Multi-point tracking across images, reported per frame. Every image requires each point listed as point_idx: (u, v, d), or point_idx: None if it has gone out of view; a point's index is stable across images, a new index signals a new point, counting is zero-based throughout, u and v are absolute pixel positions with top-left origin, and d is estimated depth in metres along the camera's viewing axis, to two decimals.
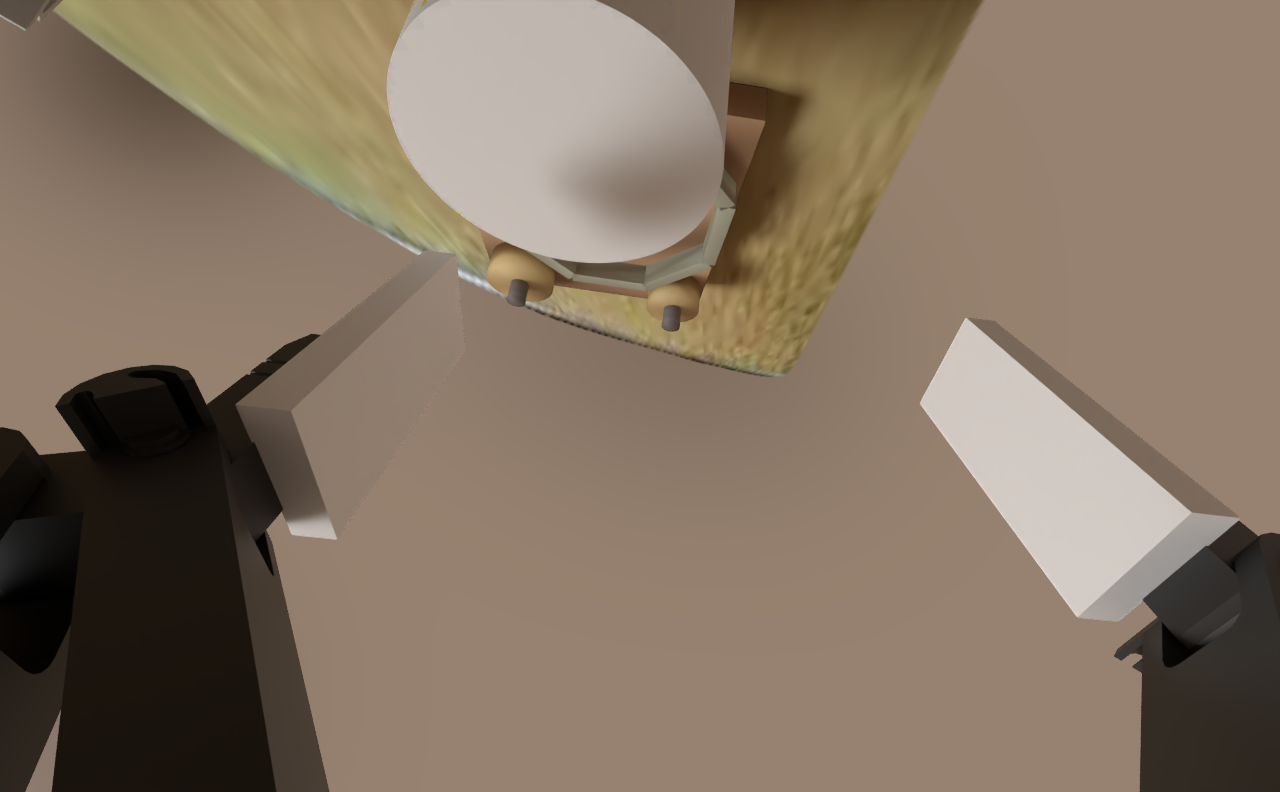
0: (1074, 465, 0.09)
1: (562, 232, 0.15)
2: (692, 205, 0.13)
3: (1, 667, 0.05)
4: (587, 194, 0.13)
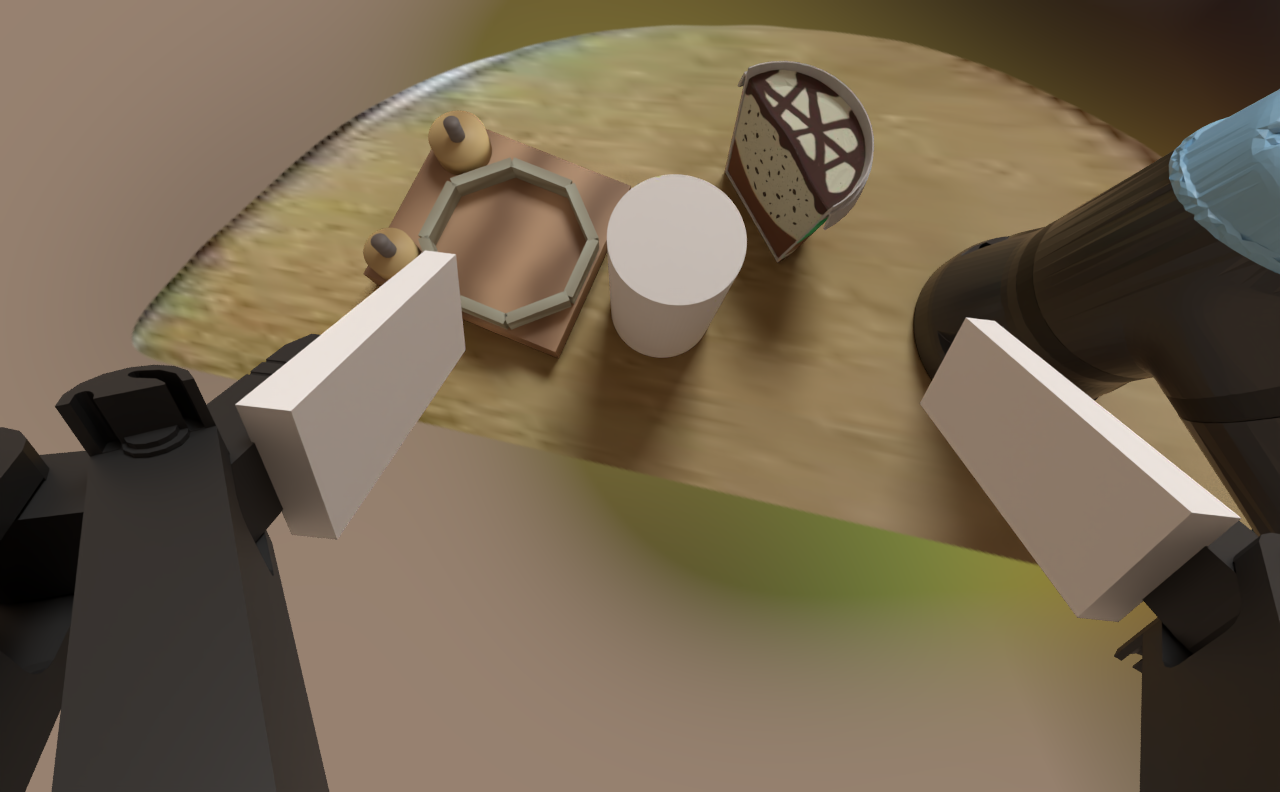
0: (1074, 465, 0.09)
1: (635, 219, 0.29)
2: (643, 286, 0.28)
3: (1, 667, 0.05)
4: (658, 242, 0.28)
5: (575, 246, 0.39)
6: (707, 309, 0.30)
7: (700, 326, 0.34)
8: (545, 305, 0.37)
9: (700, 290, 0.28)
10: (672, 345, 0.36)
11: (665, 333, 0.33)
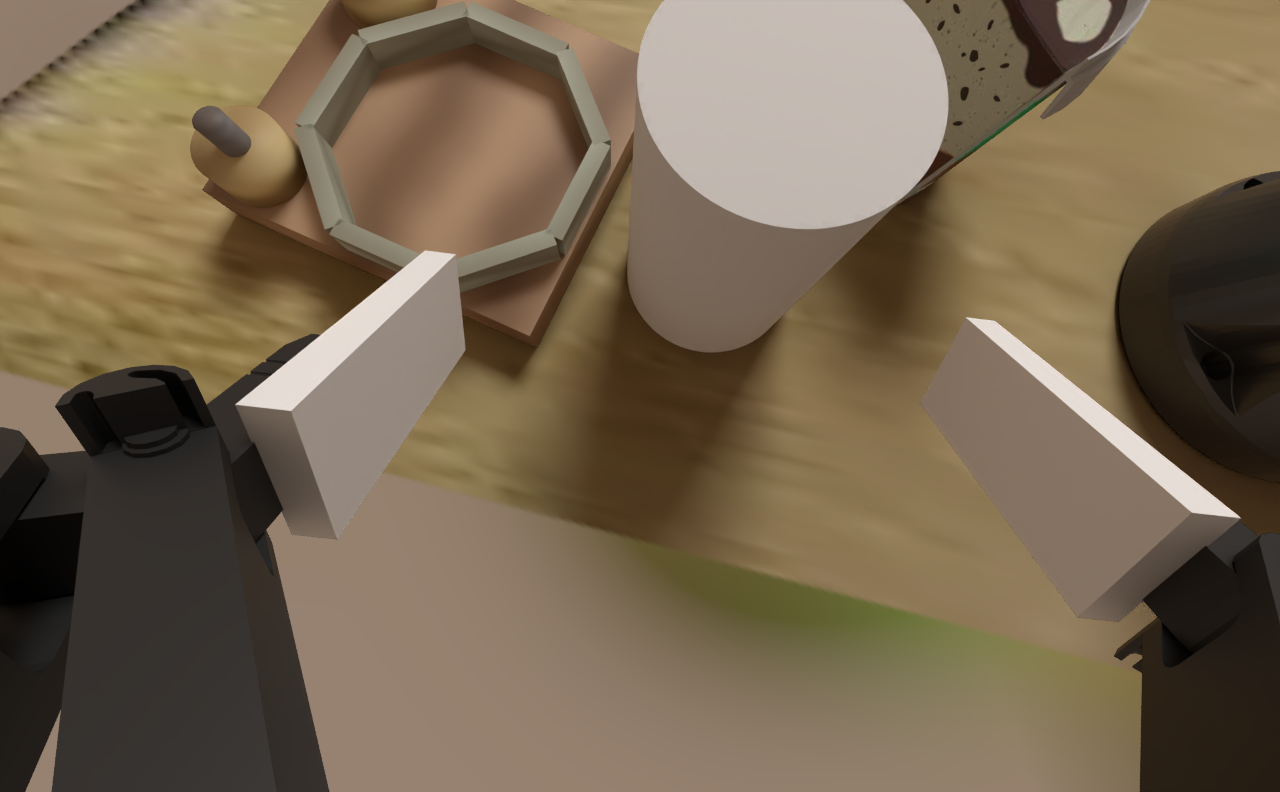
0: (1074, 465, 0.09)
1: (702, 38, 0.13)
2: (718, 182, 0.12)
3: (1, 667, 0.05)
4: (753, 88, 0.13)
5: (571, 159, 0.23)
6: (840, 251, 0.14)
7: (799, 294, 0.18)
8: (513, 252, 0.21)
9: (848, 197, 0.12)
10: (736, 330, 0.20)
11: (735, 305, 0.17)
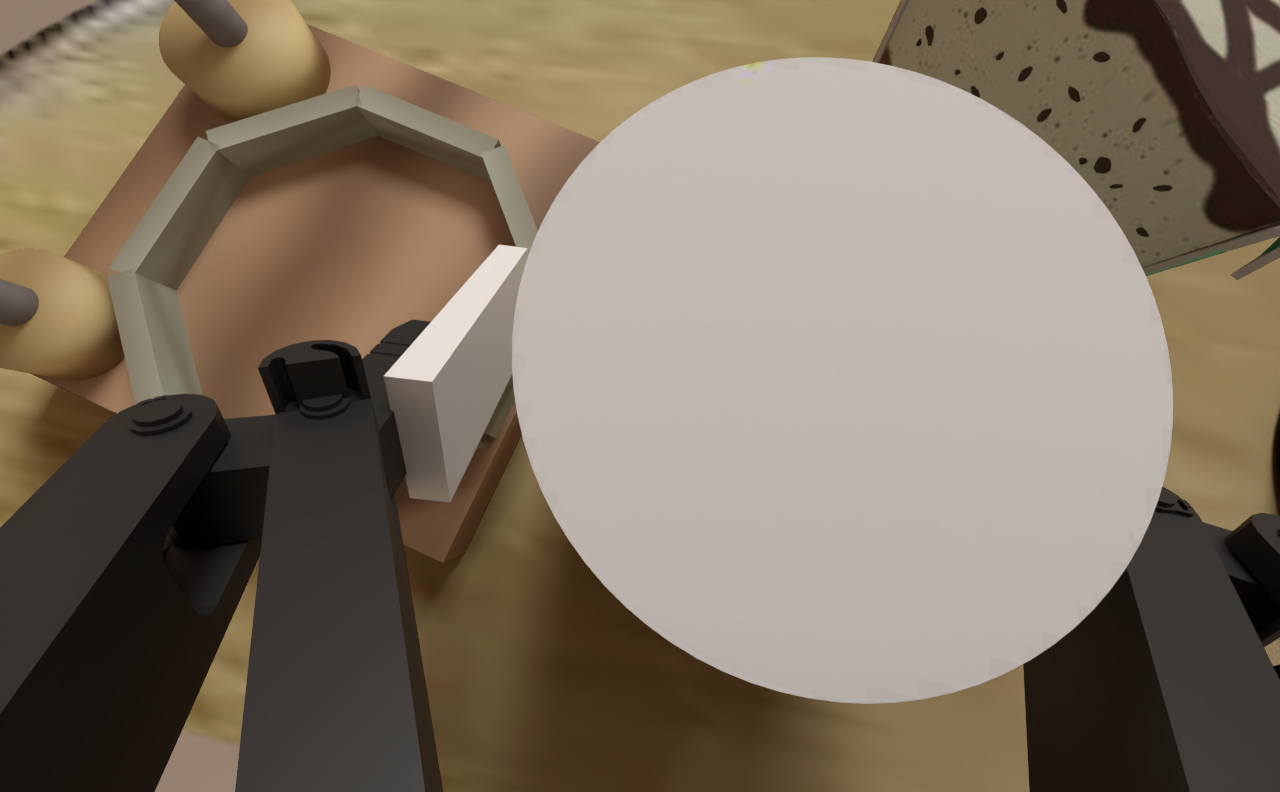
0: None
1: (650, 251, 0.06)
2: (683, 593, 0.06)
3: (181, 607, 0.06)
4: (758, 362, 0.06)
5: None
6: None
7: None
8: None
9: (973, 617, 0.06)
10: None
11: None
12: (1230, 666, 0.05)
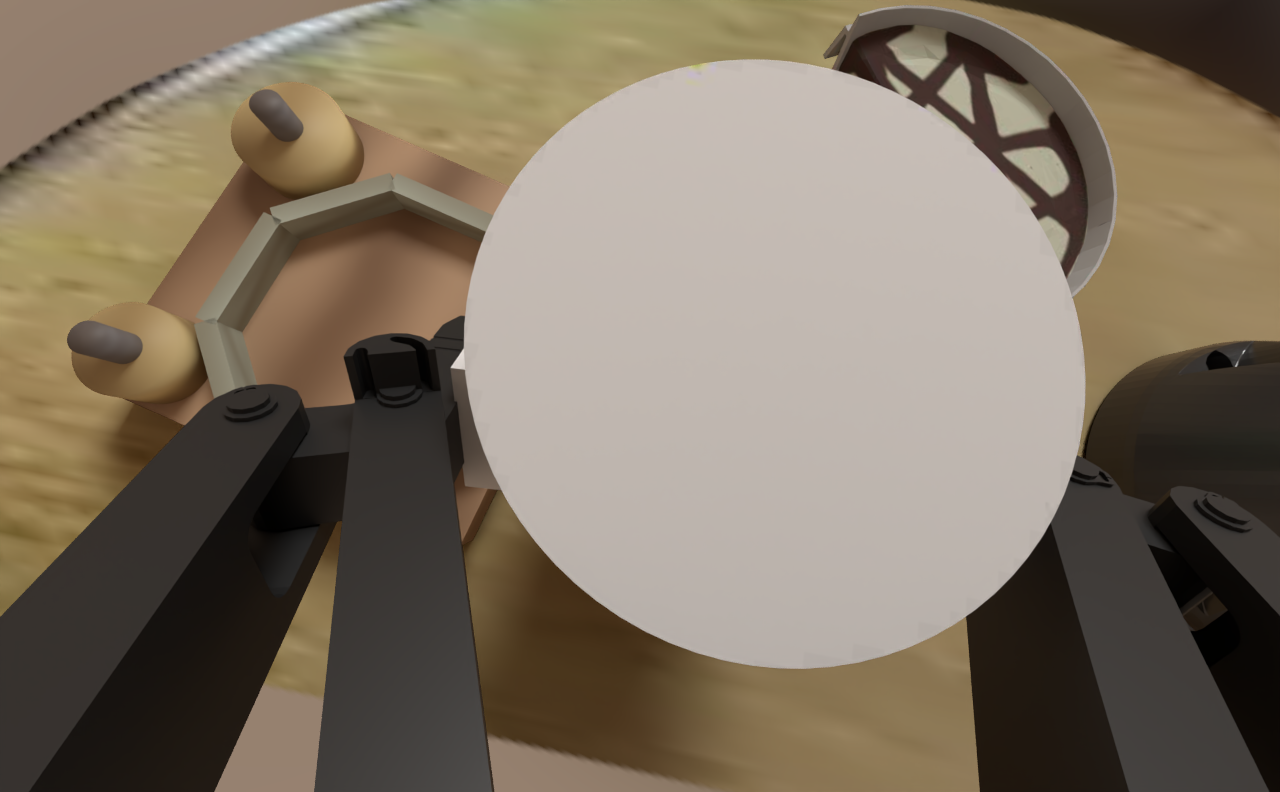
0: None
1: (598, 241, 0.06)
2: (630, 568, 0.06)
3: (259, 588, 0.06)
4: (702, 347, 0.06)
5: None
6: None
7: None
8: None
9: (903, 584, 0.06)
10: None
11: None
12: (1151, 631, 0.06)
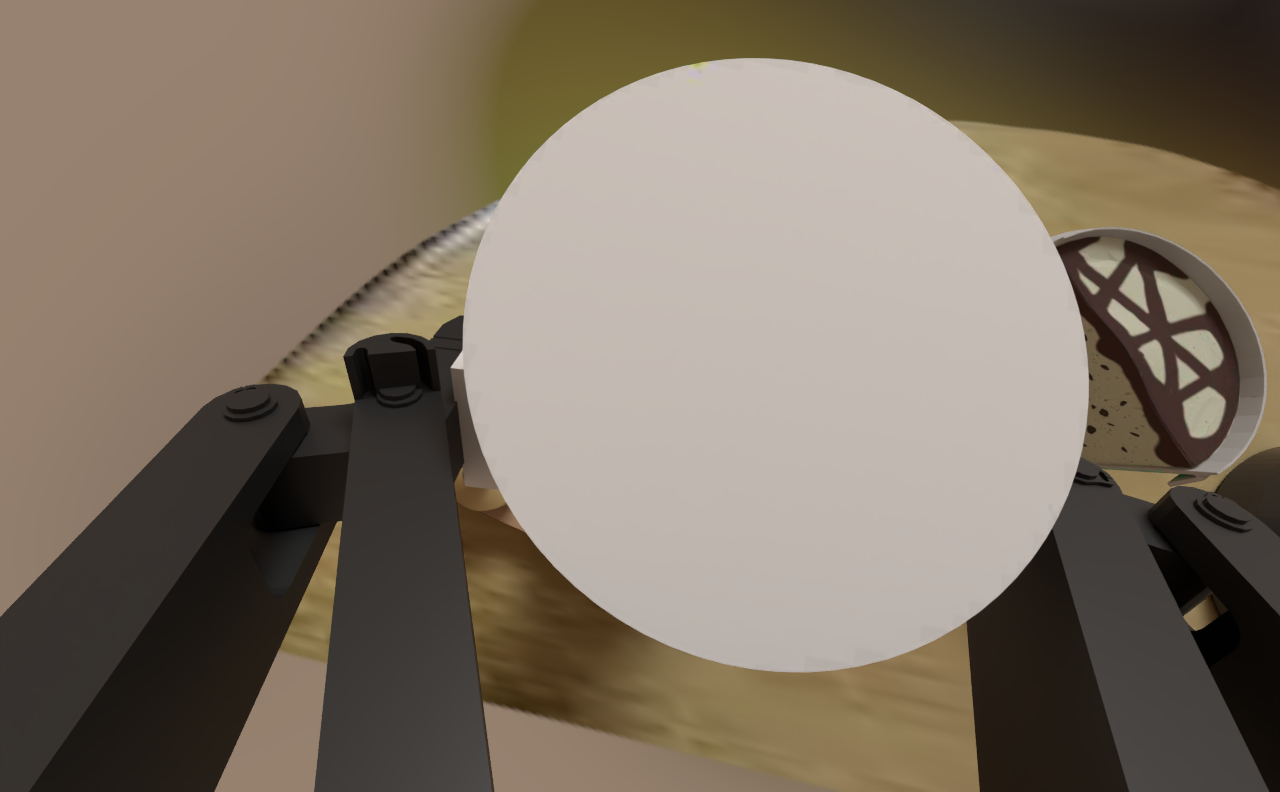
0: None
1: (599, 242, 0.06)
2: (630, 571, 0.06)
3: (259, 588, 0.06)
4: (703, 348, 0.06)
5: None
6: None
7: None
8: None
9: (905, 587, 0.06)
10: None
11: None
12: (1151, 631, 0.06)
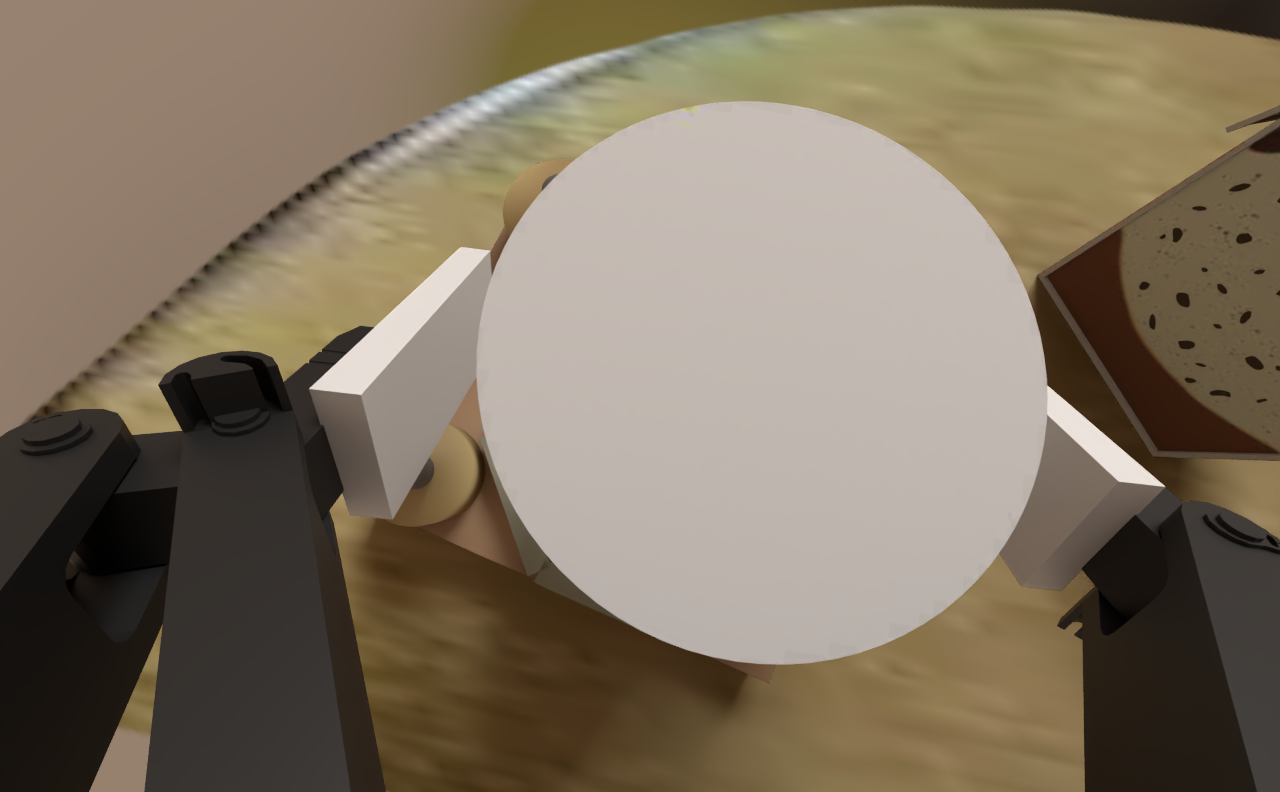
0: None
1: (598, 274, 0.07)
2: (627, 573, 0.06)
3: (91, 634, 0.06)
4: (693, 372, 0.07)
5: None
6: None
7: None
8: None
9: (876, 588, 0.06)
10: None
11: None
12: None
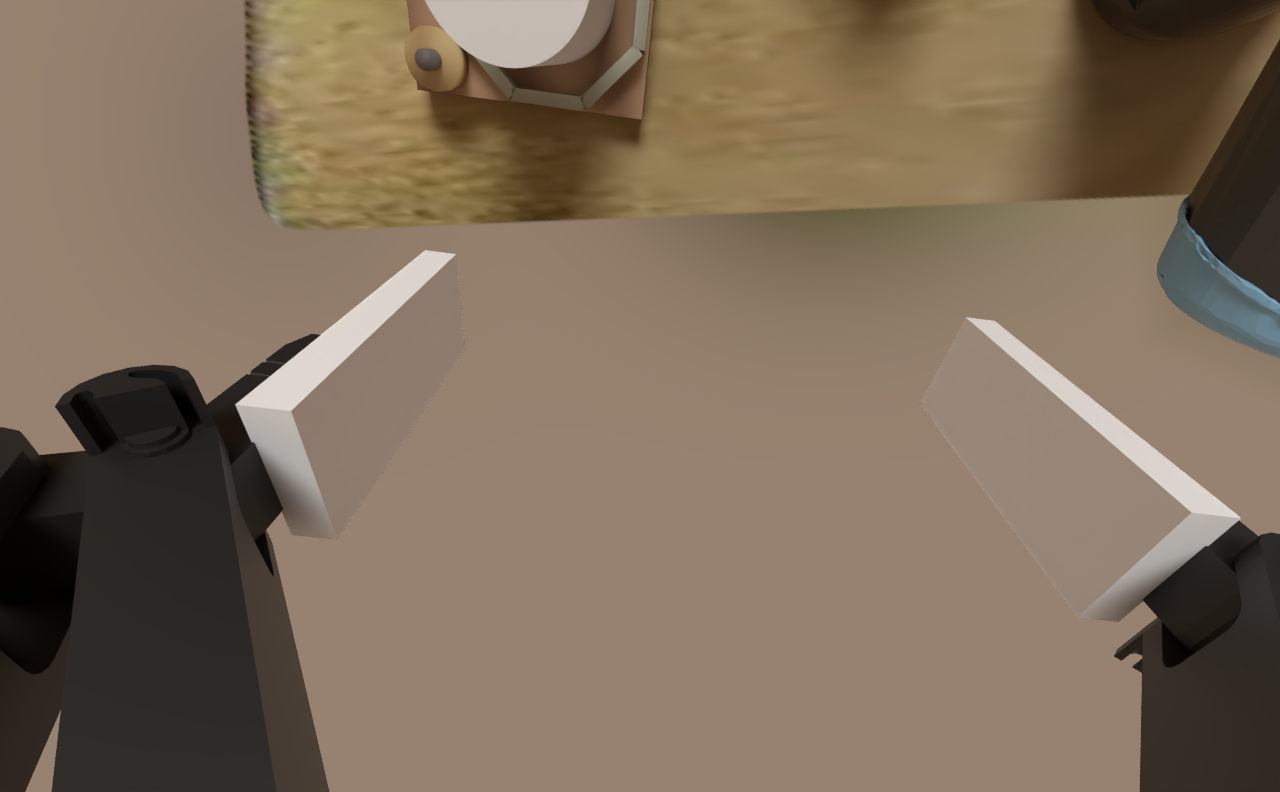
0: (1074, 465, 0.09)
1: None
2: (491, 51, 0.24)
3: (1, 667, 0.05)
4: None
5: None
6: (580, 36, 0.25)
7: (591, 35, 0.28)
8: (618, 72, 0.33)
9: (555, 31, 0.23)
10: (575, 57, 0.31)
11: (555, 63, 0.28)
12: None
